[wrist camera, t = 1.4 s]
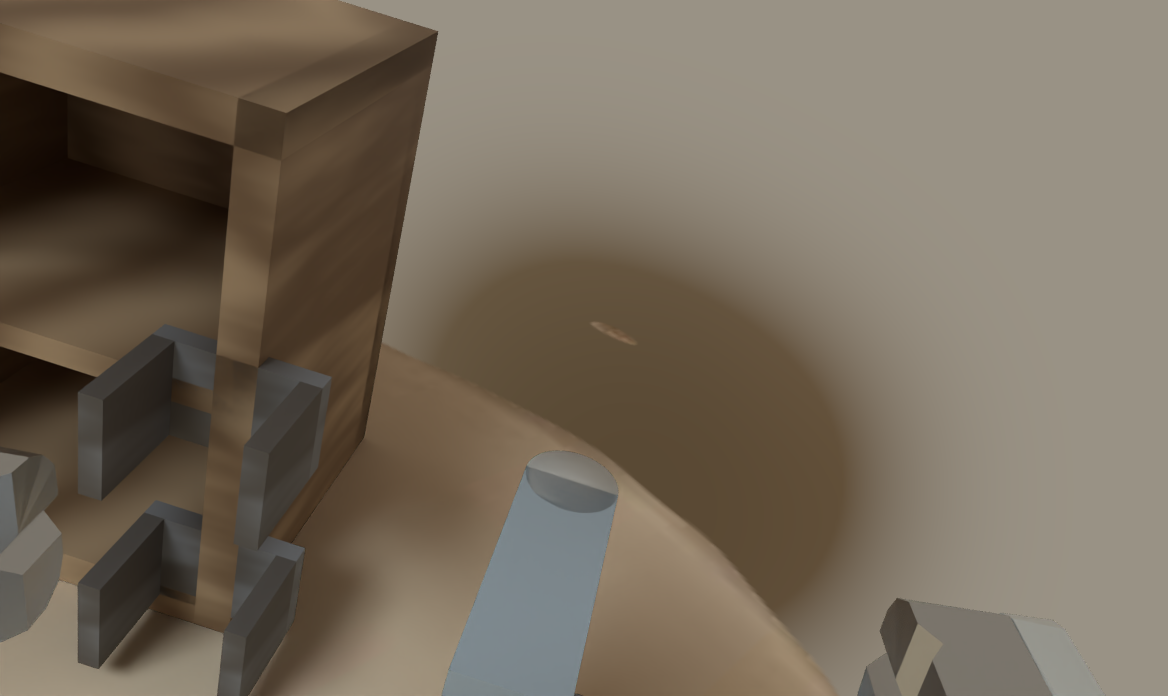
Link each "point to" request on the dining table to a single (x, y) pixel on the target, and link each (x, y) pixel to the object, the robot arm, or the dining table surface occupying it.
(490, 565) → the door
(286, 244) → the cabinet
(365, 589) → the dining table surface
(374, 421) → the dining table surface
